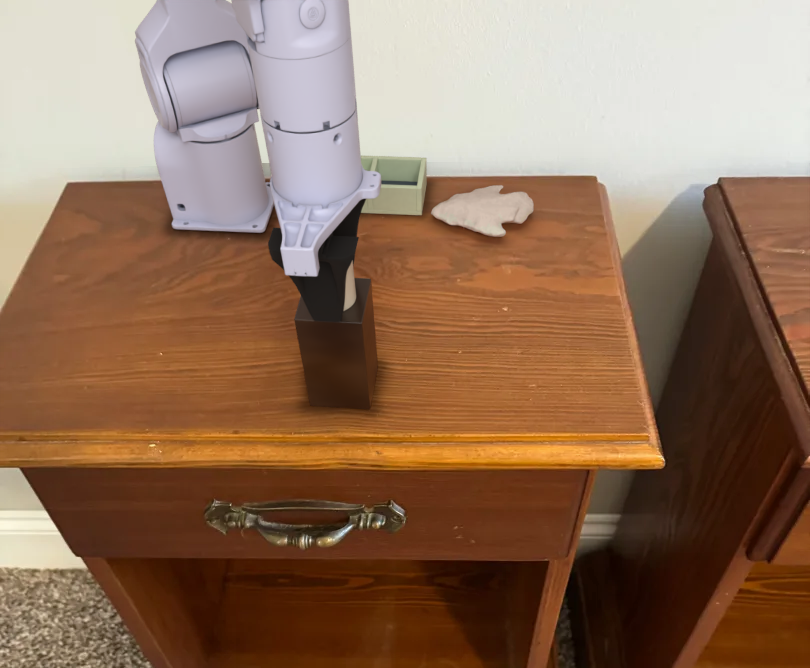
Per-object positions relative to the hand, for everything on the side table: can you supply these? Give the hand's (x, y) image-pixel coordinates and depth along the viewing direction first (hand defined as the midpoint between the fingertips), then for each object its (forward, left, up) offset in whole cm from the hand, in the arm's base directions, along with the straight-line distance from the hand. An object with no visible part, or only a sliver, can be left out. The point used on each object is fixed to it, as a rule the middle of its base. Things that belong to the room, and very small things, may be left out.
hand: (332, 296), depth 57 cm
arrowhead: (+10, +24, -9) cm, 28 cm away
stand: (0, 0, -9) cm, 9 cm away
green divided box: (-1, +27, -9) cm, 28 cm away
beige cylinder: (0, 0, 0) cm, 0 cm away
